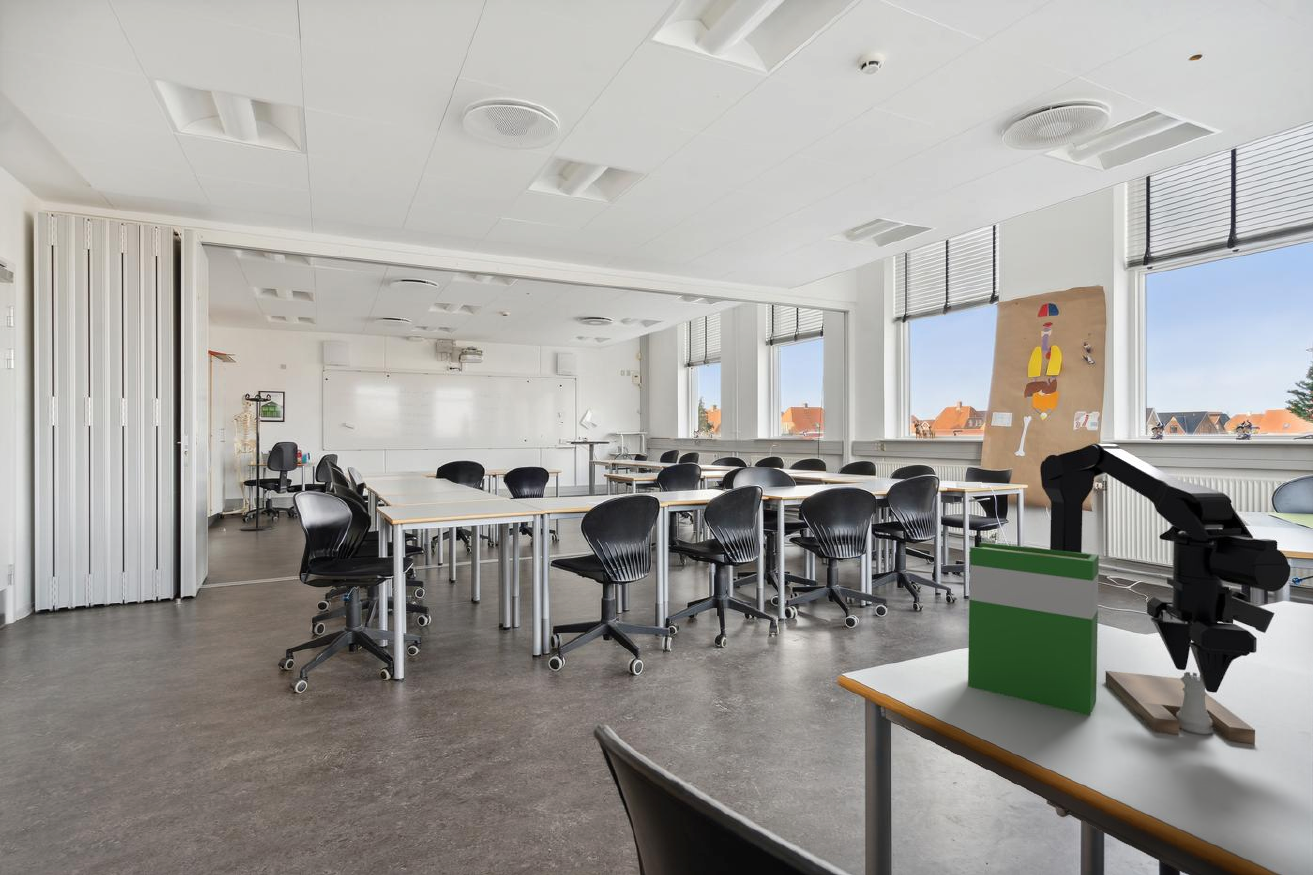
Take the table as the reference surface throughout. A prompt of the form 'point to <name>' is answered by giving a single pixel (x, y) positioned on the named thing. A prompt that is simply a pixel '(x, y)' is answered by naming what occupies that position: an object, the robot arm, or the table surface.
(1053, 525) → the robot arm
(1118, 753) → the table surface
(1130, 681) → the notched board
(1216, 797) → the table surface
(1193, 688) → the rook chess piece
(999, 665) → the green open box
